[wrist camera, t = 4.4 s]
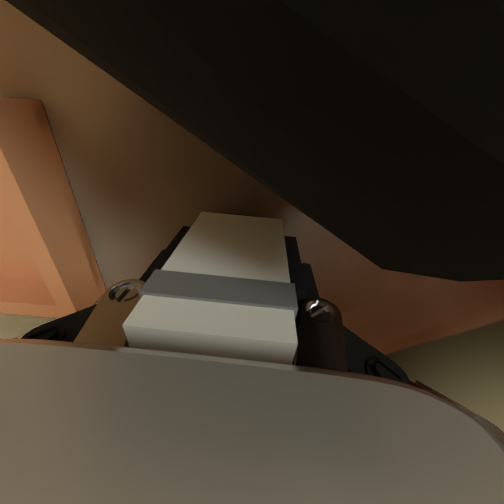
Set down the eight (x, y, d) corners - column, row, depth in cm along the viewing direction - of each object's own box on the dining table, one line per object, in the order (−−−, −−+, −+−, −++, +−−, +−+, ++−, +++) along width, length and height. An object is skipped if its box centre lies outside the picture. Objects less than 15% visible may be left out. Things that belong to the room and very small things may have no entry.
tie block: (284, 217, 11) (302, 341, 5) (273, 283, 13) (277, 424, 7) (199, 209, 11) (117, 321, 5) (202, 276, 13) (148, 410, 7)
